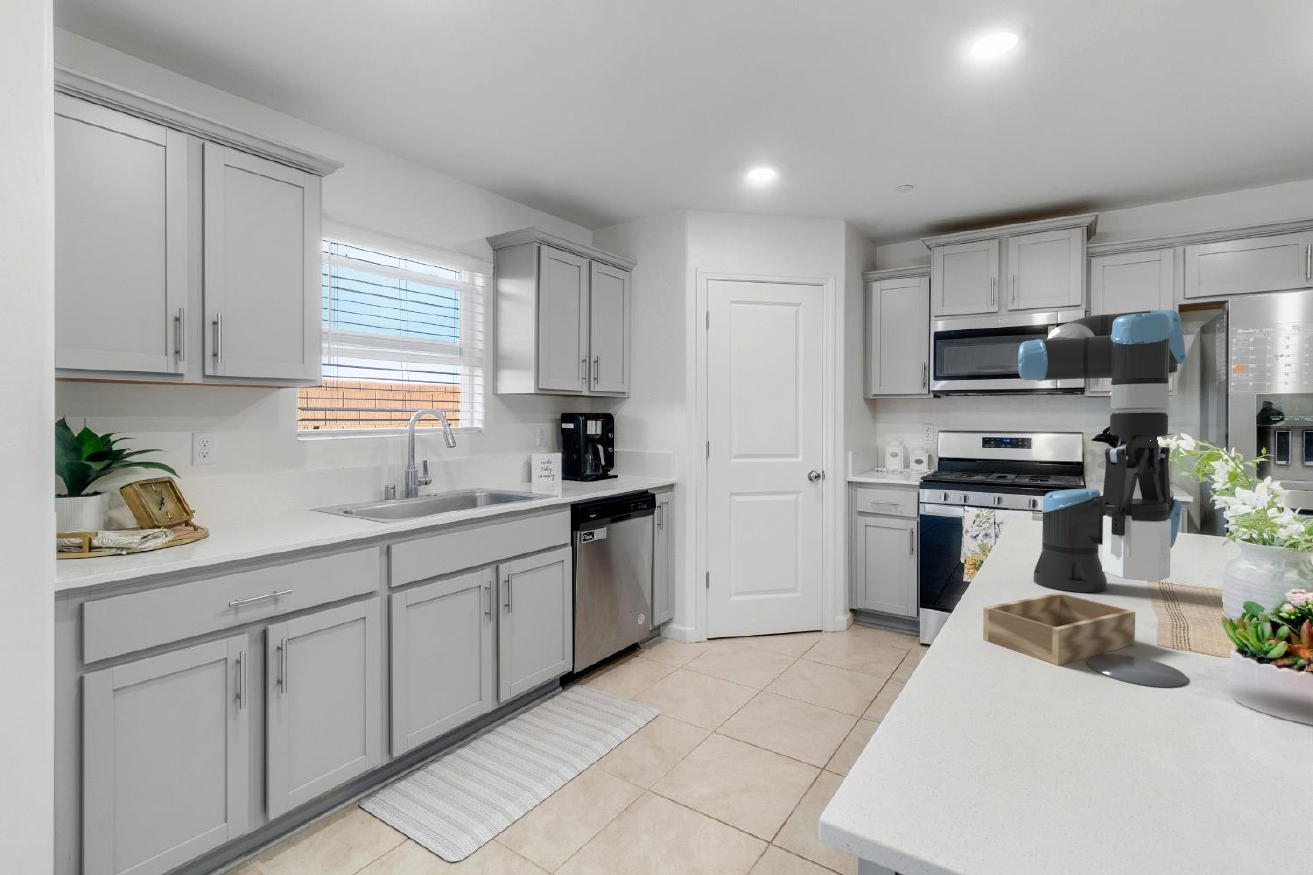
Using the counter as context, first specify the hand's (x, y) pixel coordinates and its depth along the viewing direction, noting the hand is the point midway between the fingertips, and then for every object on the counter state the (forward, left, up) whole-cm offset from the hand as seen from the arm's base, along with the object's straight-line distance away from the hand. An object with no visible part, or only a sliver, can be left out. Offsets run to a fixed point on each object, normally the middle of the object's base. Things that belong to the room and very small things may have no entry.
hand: (1135, 552), depth 106 cm
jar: (0, 0, -4) cm, 4 cm away
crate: (-2, -14, -19) cm, 24 cm away
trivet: (0, 0, -19) cm, 19 cm away
